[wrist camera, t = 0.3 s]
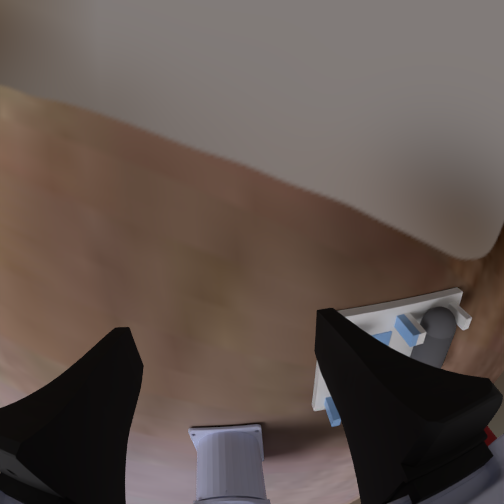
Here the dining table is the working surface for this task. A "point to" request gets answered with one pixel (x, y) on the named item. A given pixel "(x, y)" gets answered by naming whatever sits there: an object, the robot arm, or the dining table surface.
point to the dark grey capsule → (435, 336)
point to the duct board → (392, 331)
